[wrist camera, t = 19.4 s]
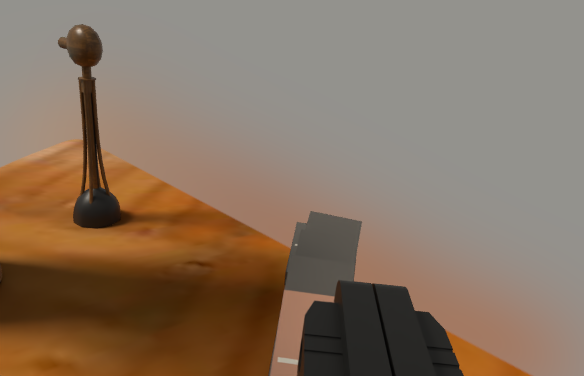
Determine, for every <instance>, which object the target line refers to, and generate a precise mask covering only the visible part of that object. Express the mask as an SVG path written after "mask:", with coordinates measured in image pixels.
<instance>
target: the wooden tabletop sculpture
mask: <svg viewBox="0 0 584 376" xmlns="http://www.w3.org/2000/svg"><path fill="white" fill-rule="evenodd" d="M58 44H59V46H60V47H61V48H64V49H67V50H68V53H69V56H70V57H71V59H72V60H73V61H74V63H75V64H77V65H80V66H82V76H83V77H78V79H79V90H80V102H81V114H82V129H83V159H84V160H83V179H82V187H81V193H80V196H79V197H78V198H77V201H76V203H75V207H74V214H73V219H74V223H76V224H77V225H79V226H81V227H87V228H100V227H105V226H110V225H113V224H114V223H116V222H117V221H119V220H120V215H121V214H120V206H119V202H118V200H117V198H116V197H115V196H114V195H113V194H112V193H111V192H109V188H108V184H107V181H106V177H105V172H104V167H103V162H102V155H101V147H100V140H99V130H98V118H97V104H96V90H95V80H96V78H94V77H91V67H92V66H95V65H97V64H98V62H99V61H100V60H101V56H102V51H103V50H102V43H101V40H100V38H99V36H98V34H97V33H96V32H95V31H94V30H93V29H92V28H91V27H89V26H86V25H83V24H81V25H75V26H74V27H73V28H72V29H71V30H69V33H68V36H67V38H65V37H61V38H60V39H59V40H58ZM85 117H86V118H85ZM86 131H87V134H86ZM96 144H97V146H96ZM87 145H88V163H89V189H88V190H86V191H85V183H86V172H87ZM97 152H98V159H99V164H100V169H101V174H102V179H103V183H104V186H105V189H103V188H101V185H100V178H99V171H98V160H97Z"/></svg>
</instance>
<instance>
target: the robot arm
mask: <svg viewBox="0 0 584 376" xmlns="http://www.w3.org/2000/svg"><path fill="white" fill-rule="evenodd" d="M1 279H2V270H1V265H0V282H1ZM452 350H453V348H452V346H451V344H450V341H449V339H448V336H447V334H446V331H445V329H444V328H443V327H442V326H441V325H440V324H439V323H438V322H437V321H436V320H435V319H434V317H432V315H431V314H430V313H429V312H421V311H415V310H414V307H413V305H412V302H411V299H410V296H409V293H408V290H407V288H406V287H402V286H393V285H382V284H371V283H363V282H353V281H344V280H338V282H337V286H336V291H335V297H334V302H324V301H315V300H314V302H313V303H312V305H311V306H310V308H309V309H308V311H307V313H306V314H305V317H304V324H303V331H302V338H301V345H300V352H299V360H298V367H297V376H463V373H462V371H461V370H460V369H459V363H458V361H457V358H456V356H455V353H453V351H452Z"/></svg>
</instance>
